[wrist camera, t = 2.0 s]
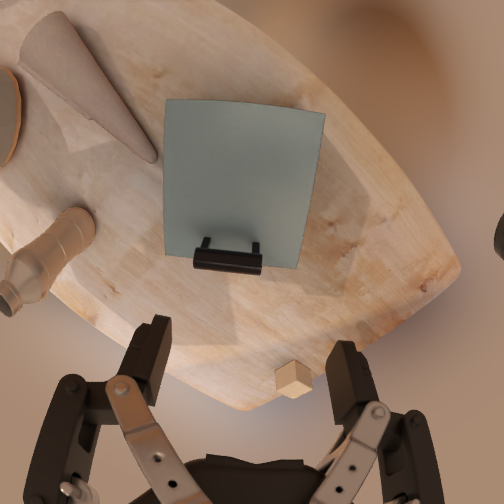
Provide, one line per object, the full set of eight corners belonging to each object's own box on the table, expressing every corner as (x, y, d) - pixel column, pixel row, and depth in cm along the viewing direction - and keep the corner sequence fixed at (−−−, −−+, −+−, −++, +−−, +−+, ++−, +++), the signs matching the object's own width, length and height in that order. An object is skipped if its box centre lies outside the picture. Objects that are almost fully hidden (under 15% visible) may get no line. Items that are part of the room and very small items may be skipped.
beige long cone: (192, 119, 26) (45, 7, 15) (142, 177, 29) (9, 65, 18) (200, 112, 33) (74, 14, 21) (157, 158, 36) (40, 62, 24)
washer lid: (295, 265, 28) (301, 296, 24) (167, 251, 28) (151, 279, 23) (323, 113, 21) (339, 116, 17) (168, 99, 20) (146, 99, 16)
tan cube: (294, 359, 51) (296, 380, 46) (310, 369, 52) (313, 389, 48) (275, 370, 52) (275, 390, 48) (291, 379, 54) (292, 399, 50)
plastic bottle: (90, 197, 35) (-2, 273, 18) (106, 237, 39) (32, 328, 21) (61, 208, 36) (-24, 280, 19) (77, 245, 39) (6, 328, 22)
